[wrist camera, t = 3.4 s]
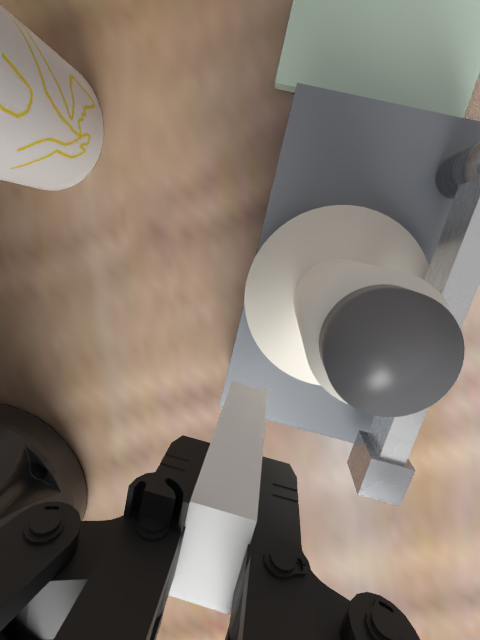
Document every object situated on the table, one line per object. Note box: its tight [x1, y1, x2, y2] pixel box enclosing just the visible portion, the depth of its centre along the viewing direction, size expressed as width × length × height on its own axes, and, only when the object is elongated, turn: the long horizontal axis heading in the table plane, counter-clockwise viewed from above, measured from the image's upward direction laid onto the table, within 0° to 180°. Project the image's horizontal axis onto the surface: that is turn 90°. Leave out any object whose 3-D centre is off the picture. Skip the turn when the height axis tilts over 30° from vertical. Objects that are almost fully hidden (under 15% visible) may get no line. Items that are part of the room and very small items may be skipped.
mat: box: [275, 0, 480, 118], centre depth 19 cm, size 11×6×1 cm, turn 77°
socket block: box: [220, 83, 480, 443], centre depth 20 cm, size 10×18×5 cm, turn 167°
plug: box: [244, 205, 464, 417], centre depth 15 cm, size 9×9×14 cm
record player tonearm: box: [347, 142, 480, 506], centre depth 16 cm, size 2×16×4 cm, turn 167°
